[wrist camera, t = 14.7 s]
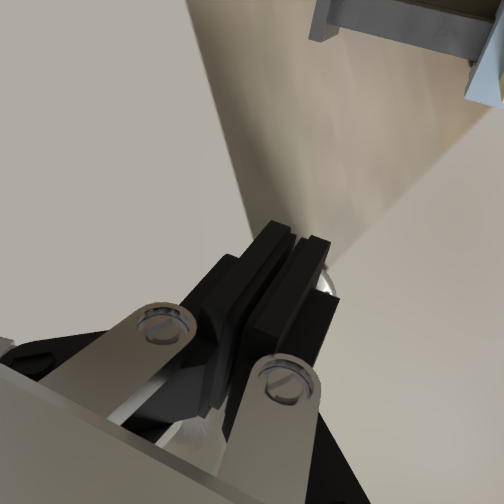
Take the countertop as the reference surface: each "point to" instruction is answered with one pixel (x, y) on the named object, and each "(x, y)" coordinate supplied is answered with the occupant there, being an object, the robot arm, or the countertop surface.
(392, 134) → the countertop surface
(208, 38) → the countertop surface
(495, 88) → the carriage
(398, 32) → the rail
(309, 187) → the countertop surface
